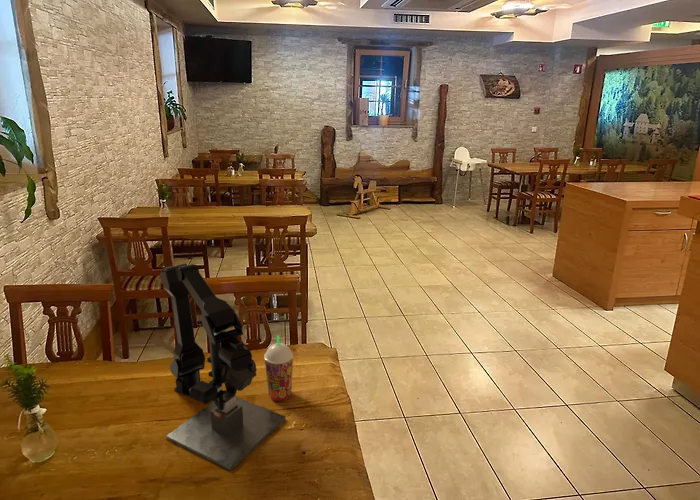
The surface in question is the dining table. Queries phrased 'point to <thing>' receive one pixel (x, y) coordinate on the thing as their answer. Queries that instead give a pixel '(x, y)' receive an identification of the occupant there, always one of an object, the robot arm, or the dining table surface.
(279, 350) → the smoothie
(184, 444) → the stand base
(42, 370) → the dining table surface
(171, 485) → the dining table surface
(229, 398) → the column
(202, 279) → the robot arm
